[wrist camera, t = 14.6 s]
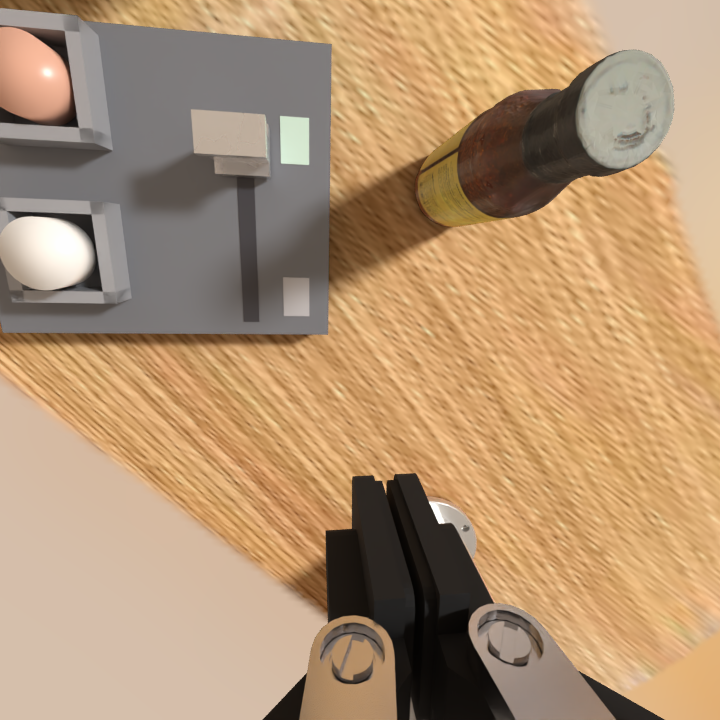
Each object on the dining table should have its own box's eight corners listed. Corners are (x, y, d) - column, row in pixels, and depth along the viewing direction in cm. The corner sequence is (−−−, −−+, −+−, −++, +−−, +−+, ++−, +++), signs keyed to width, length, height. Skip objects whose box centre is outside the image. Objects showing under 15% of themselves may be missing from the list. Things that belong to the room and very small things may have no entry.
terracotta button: (87, 128, 27) (66, 118, 24) (12, 123, 26) (-16, 113, 24) (76, 49, 25) (53, 31, 23) (-3, 42, 25) (-34, 23, 23)
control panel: (326, 326, 36) (329, 342, 31) (28, 324, 33) (-24, 341, 28) (329, 61, 30) (333, 26, 25) (-31, 29, 27) (-111, -18, 22)
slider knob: (273, 178, 29) (266, 166, 24) (215, 175, 29) (194, 162, 23) (272, 128, 28) (264, 104, 23) (212, 124, 28) (189, 98, 23)
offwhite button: (101, 286, 28) (82, 291, 26) (31, 285, 28) (6, 289, 26) (90, 219, 27) (71, 218, 25) (18, 216, 27) (-10, 214, 24)
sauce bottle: (469, 236, 35) (652, 239, 17) (401, 214, 34) (516, 190, 15) (496, 156, 34) (735, 59, 15) (427, 130, 33) (590, -12, 14)
